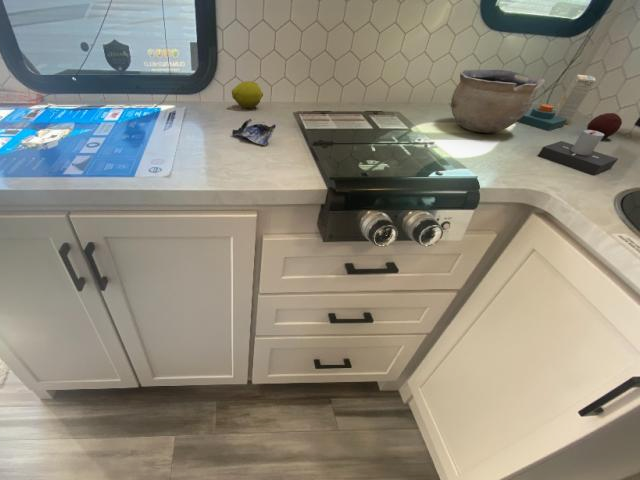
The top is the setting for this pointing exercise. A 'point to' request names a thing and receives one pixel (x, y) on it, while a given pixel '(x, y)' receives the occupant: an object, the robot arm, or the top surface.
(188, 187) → the top surface
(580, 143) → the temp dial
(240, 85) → the lemon
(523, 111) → the ceramic bowl
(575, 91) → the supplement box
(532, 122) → the block
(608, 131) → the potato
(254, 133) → the snack package
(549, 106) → the button
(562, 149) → the dial base
